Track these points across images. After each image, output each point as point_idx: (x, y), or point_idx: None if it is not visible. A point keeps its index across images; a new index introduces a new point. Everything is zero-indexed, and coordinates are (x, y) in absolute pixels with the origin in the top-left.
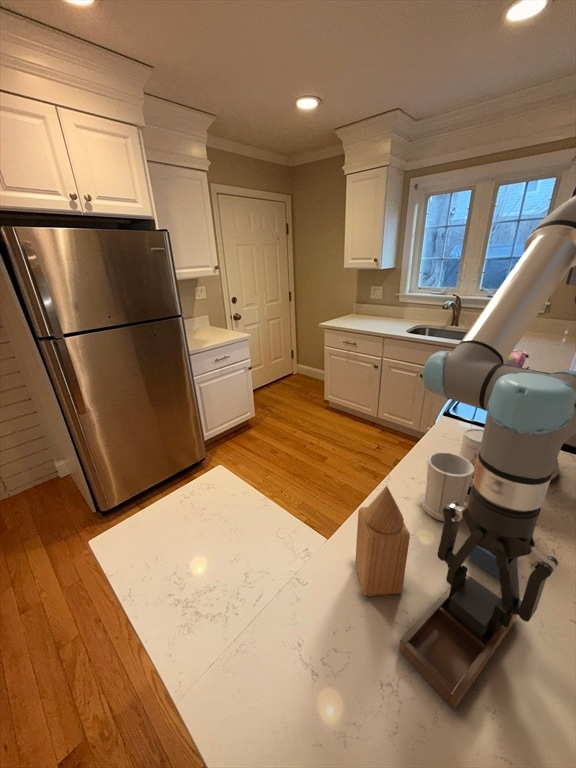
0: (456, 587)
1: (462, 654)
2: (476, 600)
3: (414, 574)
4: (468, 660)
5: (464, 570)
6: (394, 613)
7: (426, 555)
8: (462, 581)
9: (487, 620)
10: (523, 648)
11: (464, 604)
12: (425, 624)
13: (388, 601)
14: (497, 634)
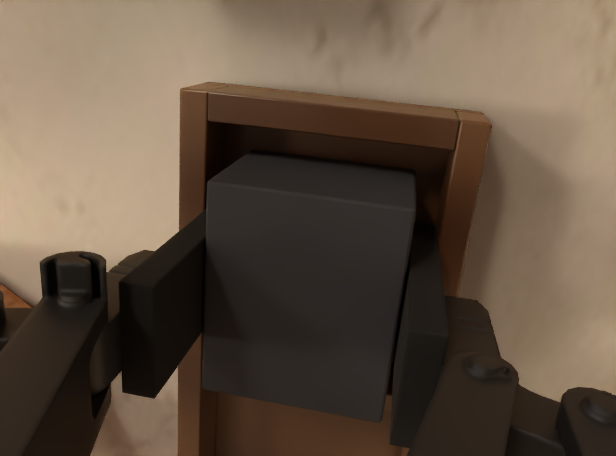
0: (189, 348)
1: (352, 418)
2: (299, 316)
3: (51, 215)
4: (376, 425)
5: (148, 318)
6: (115, 421)
7: (12, 59)
8: (192, 282)
9: (381, 391)
10: (539, 221)
11: (265, 378)
12: (204, 447)
13: None
14: None
